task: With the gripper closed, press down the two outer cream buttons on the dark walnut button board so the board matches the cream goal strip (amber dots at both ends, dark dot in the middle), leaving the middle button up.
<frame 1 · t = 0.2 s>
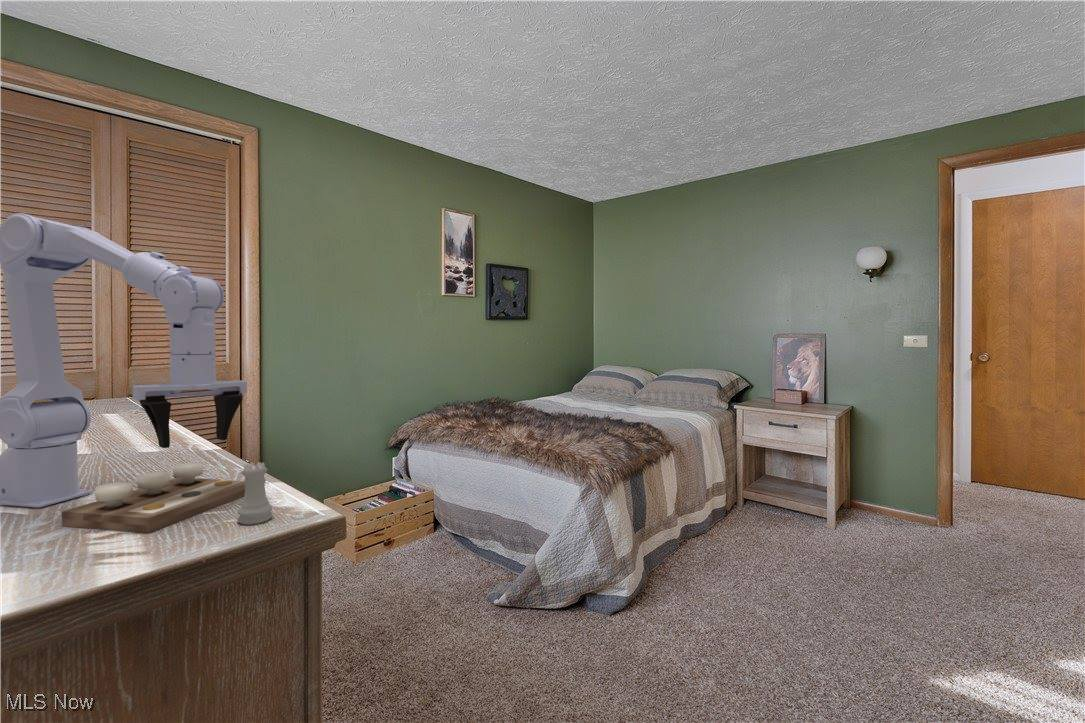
hand: (194, 443, 77), 10 cm above the dresser top, fingers open, 7 cm apart
button mid: (154, 483, 77), point 4 cm above the dresser top, slide at 0.0 cm
button far: (188, 473, 83), point 4 cm above the dresser top, slide at 0.0 cm
button near: (114, 495, 71), point 4 cm above the dresser top, slide at 0.0 cm
rook chess piece: (255, 521, 72), on the dresser top
board: (165, 508, 77), on the dresser top
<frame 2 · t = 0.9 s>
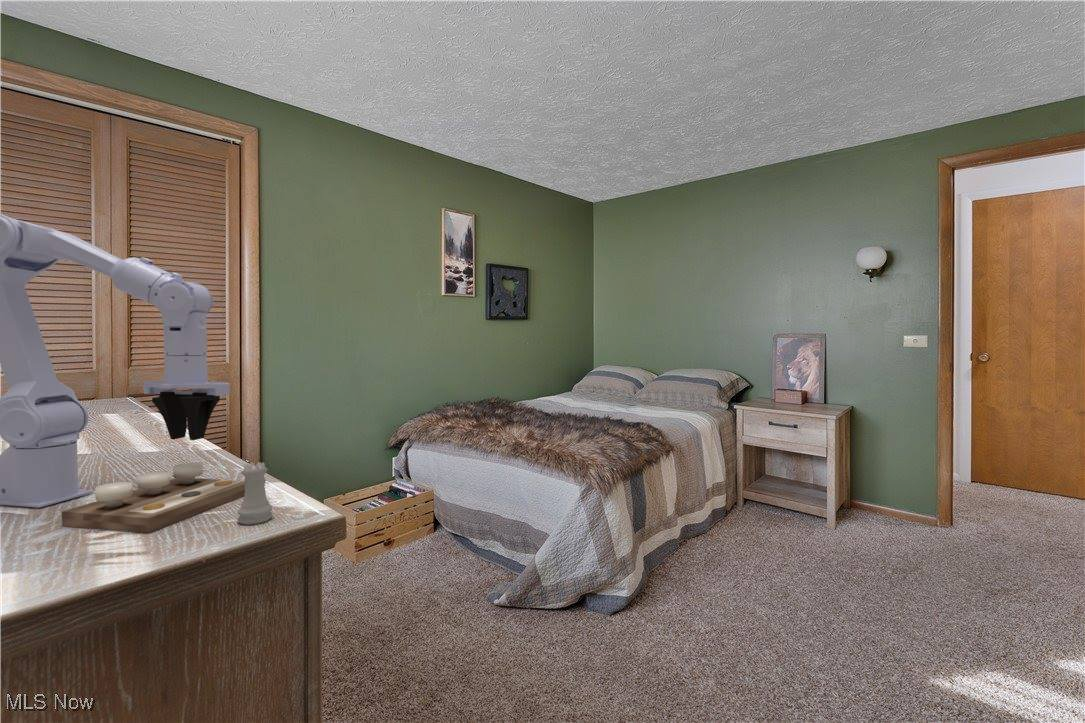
hand: (187, 438, 82), 9 cm above the dresser top, fingers open, 3 cm apart
nothing on the dresser top moved.
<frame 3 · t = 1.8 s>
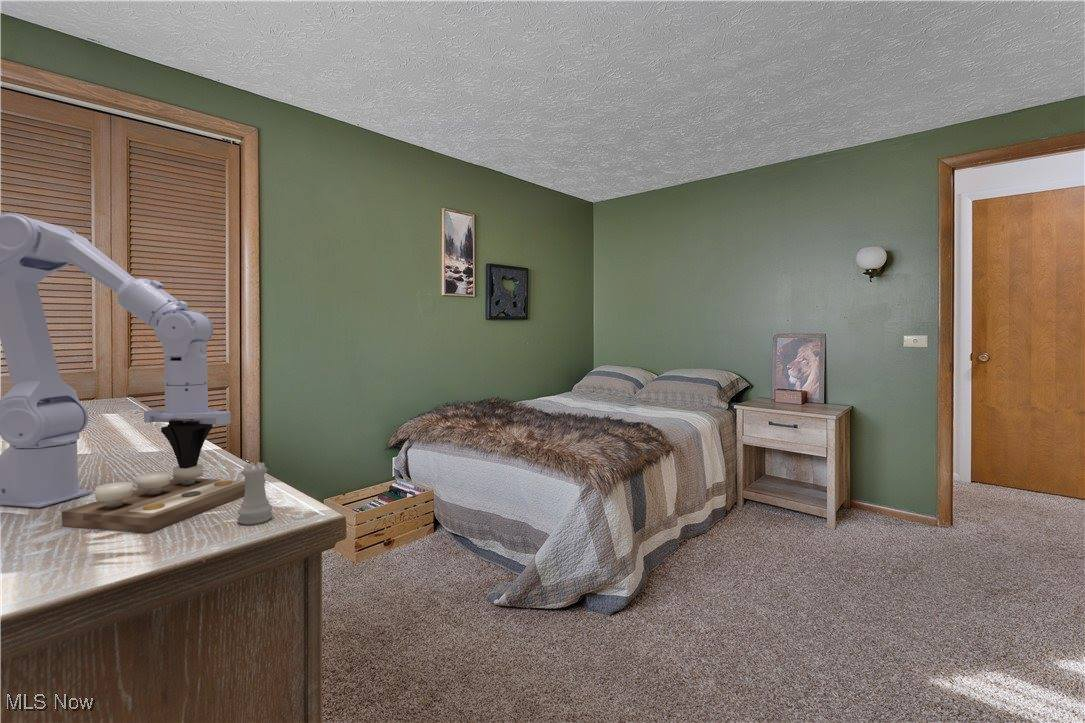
hand: (188, 467, 83), 5 cm above the dresser top, fingers closed, pressing on button far
button far: (188, 475, 83), point 3 cm above the dresser top, slide at -0.3 cm, touching gripper
everything else where it was.
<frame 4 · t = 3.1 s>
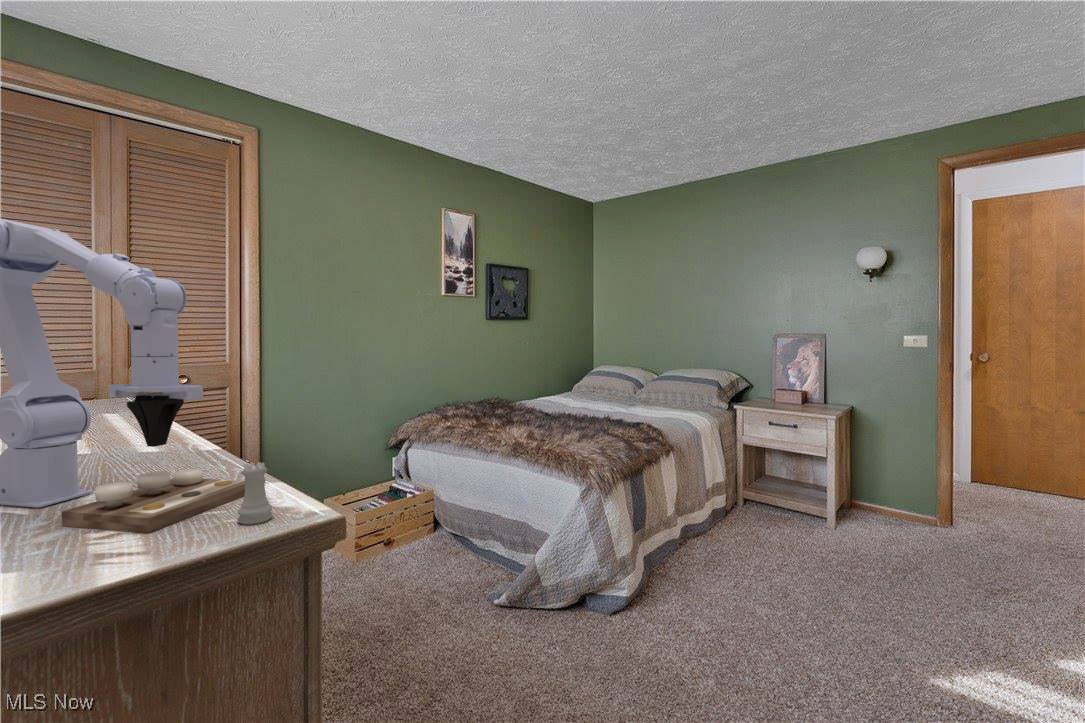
hand: (156, 445, 77), 9 cm above the dresser top, fingers closed
button far: (188, 480, 83), point 2 cm above the dresser top, slide at -1.1 cm
everything else where it was.
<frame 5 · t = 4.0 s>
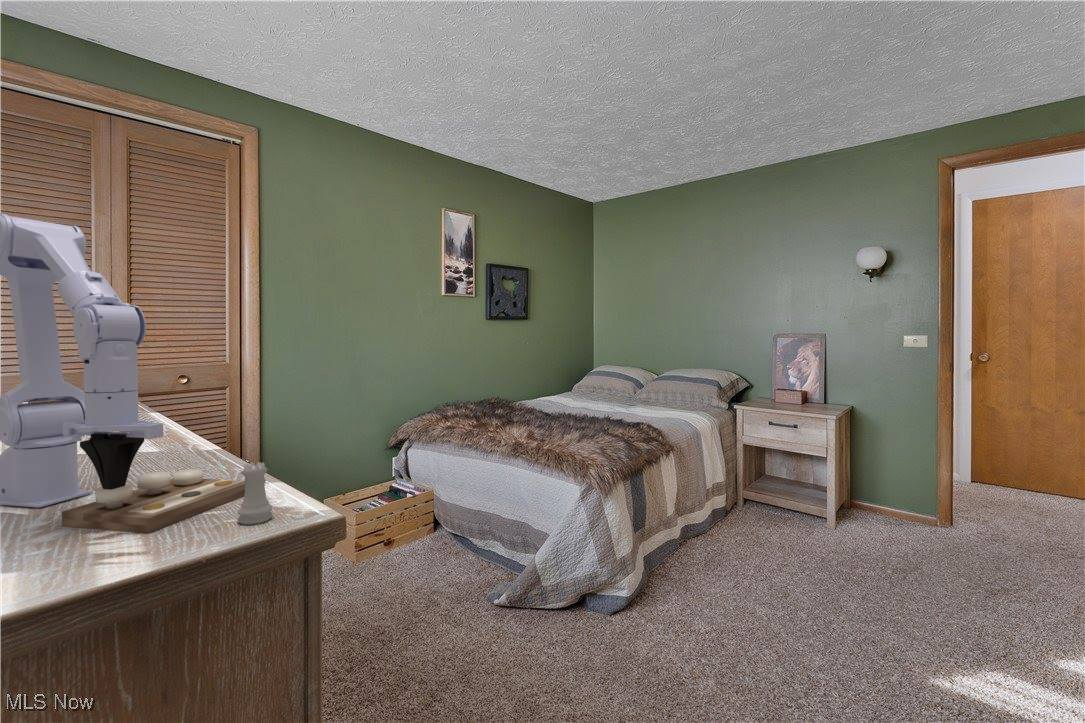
hand: (114, 487, 71), 5 cm above the dresser top, fingers closed, pressing on button near
button near: (114, 497, 71), point 3 cm above the dresser top, slide at -0.3 cm, touching gripper
everything else where it was.
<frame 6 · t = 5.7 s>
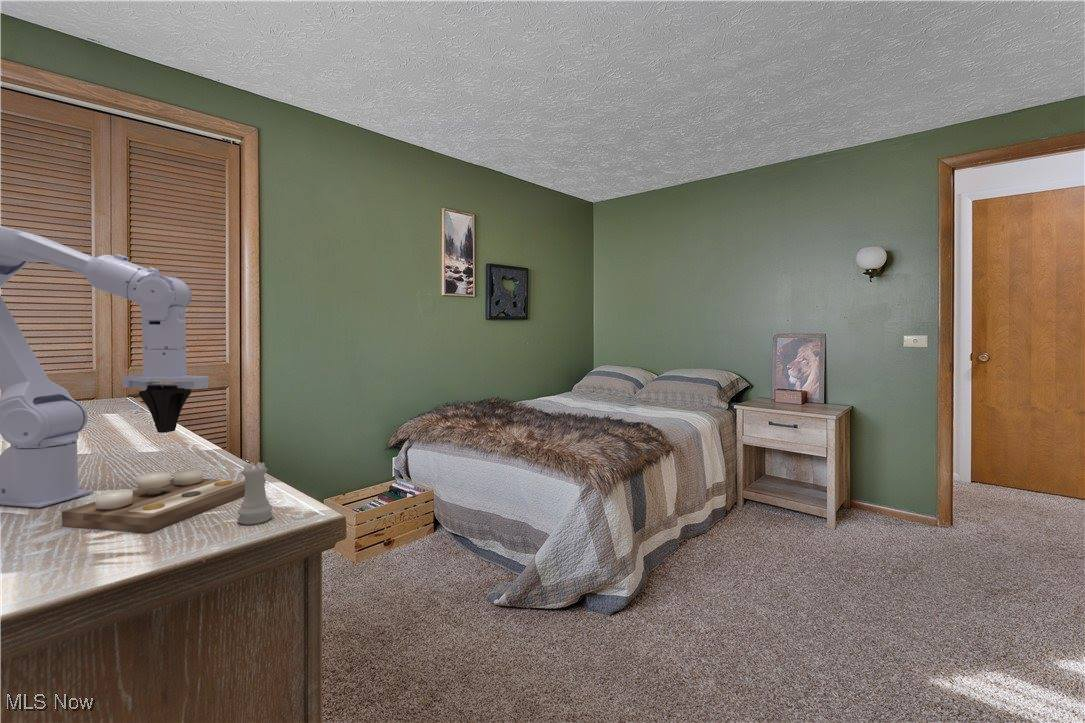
hand: (166, 431, 83), 10 cm above the dresser top, fingers closed
button near: (114, 503, 71), point 2 cm above the dresser top, slide at -1.1 cm
everything else where it was.
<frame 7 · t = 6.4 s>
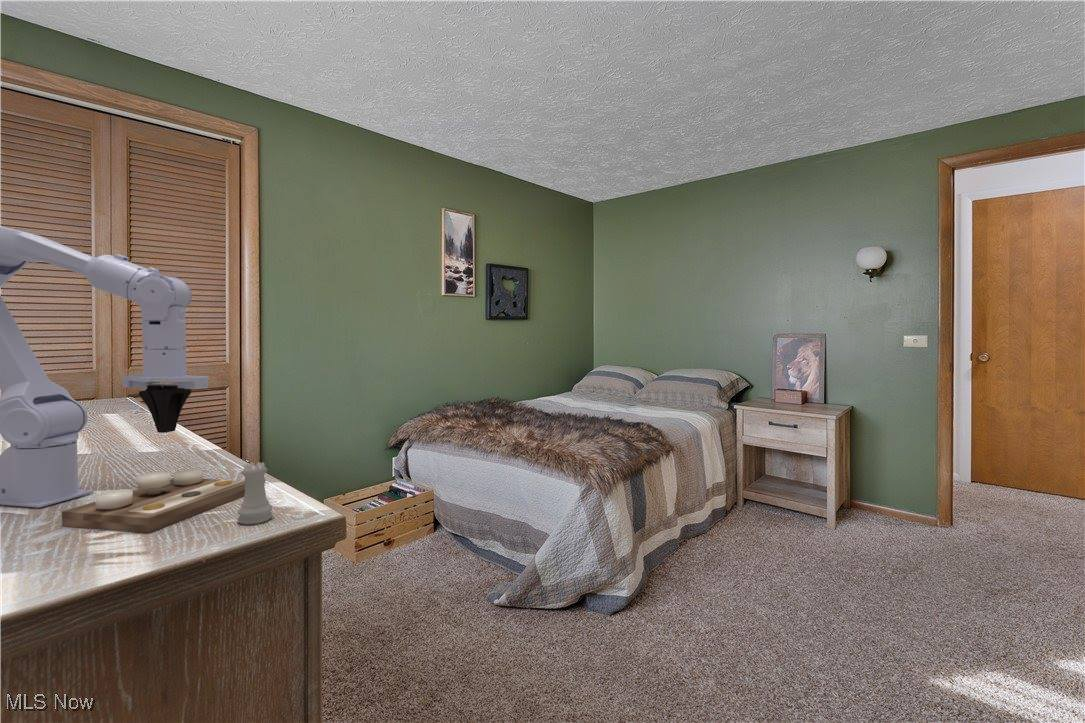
hand: (166, 431, 83), 10 cm above the dresser top, fingers closed
nothing on the dresser top moved.
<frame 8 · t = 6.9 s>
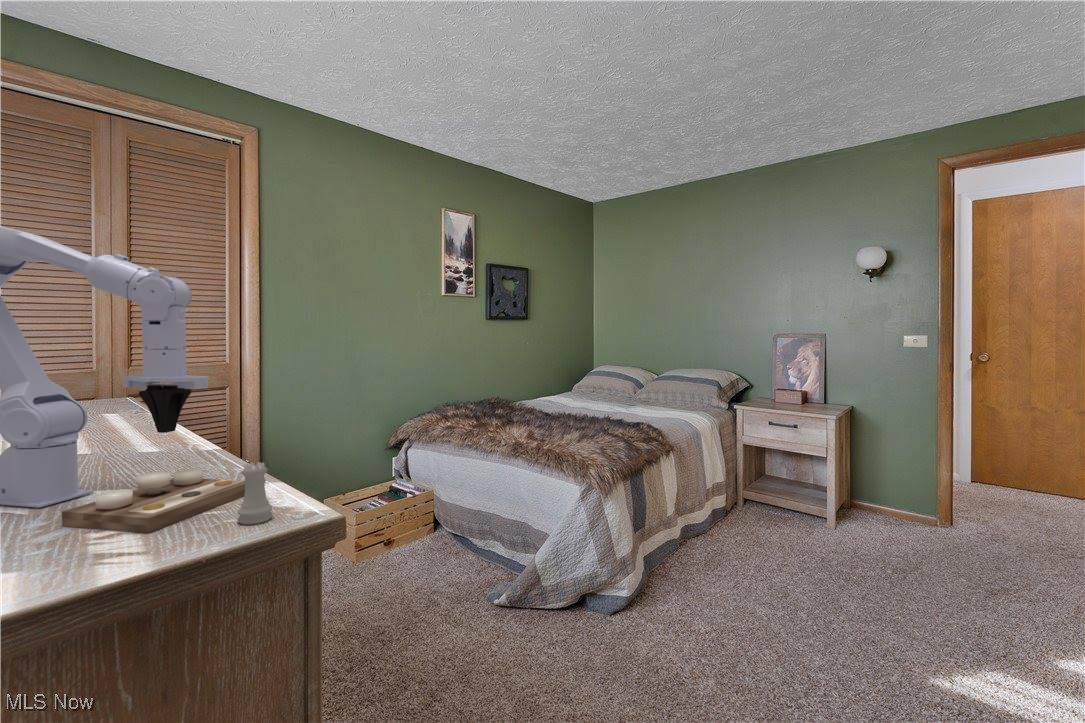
hand: (166, 431, 83), 10 cm above the dresser top, fingers closed
nothing on the dresser top moved.
at the end: button near slide at -1.1 cm; button far slide at -1.1 cm; button mid slide at 0.0 cm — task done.
